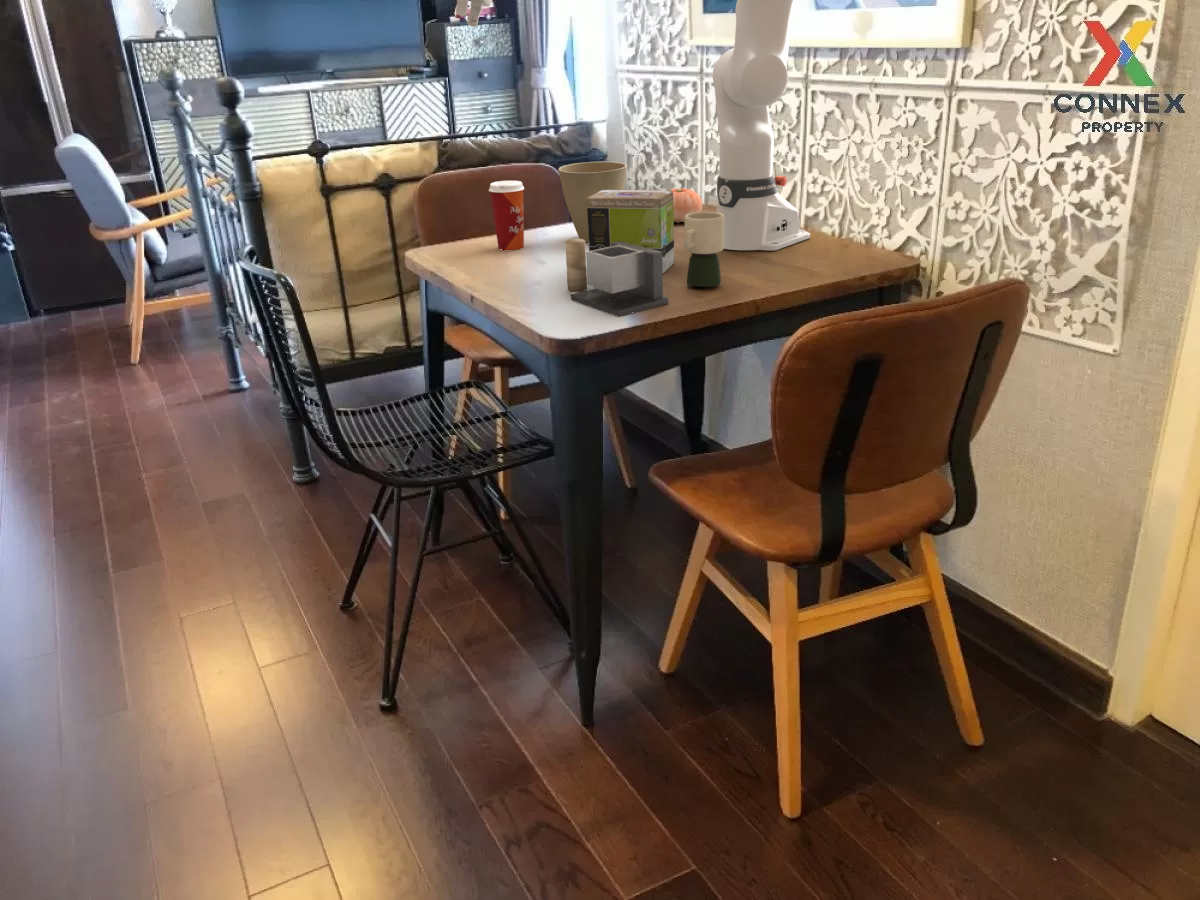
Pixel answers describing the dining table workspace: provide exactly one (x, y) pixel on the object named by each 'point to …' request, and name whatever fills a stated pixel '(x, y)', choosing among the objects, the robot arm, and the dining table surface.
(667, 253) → the tea box
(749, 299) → the dining table surface
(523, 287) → the dining table surface
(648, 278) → the grey box holder
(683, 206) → the orange pumpkin
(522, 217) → the paper cup
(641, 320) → the dining table surface
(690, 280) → the character mug
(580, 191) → the plant pot
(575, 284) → the tan wooden cylinder
